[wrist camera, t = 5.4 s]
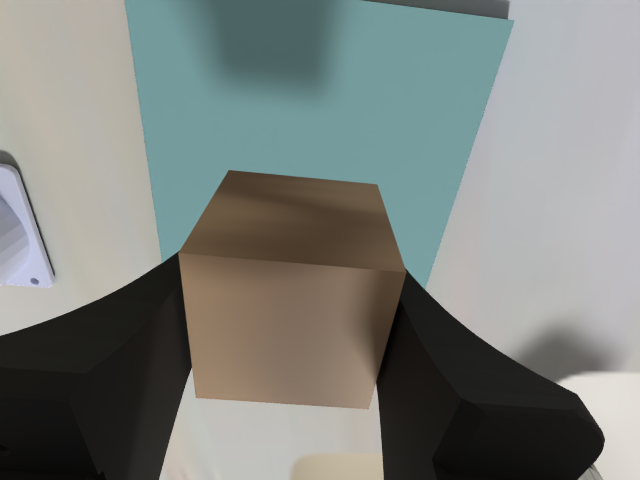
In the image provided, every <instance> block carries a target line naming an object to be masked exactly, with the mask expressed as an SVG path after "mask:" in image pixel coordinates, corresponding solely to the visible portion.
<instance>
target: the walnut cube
mask: <svg viewBox="0 0 640 480" xmlns="http://www.w3.org/2000/svg"><path fill="white" fill-rule="evenodd" d="M178 254H179V263H180V271H181V279H182V287H183V295H184V304H185V312H186V320H187V328H188V337H189V345H190V353H191V361H192V369H193V378H194V386H195V394H196V398H205V399H221V400H236V401H251V402H266V403H281V404H297V405H312V406H327V407H342V408H357V409H369V405H370V402H371V398H372V395H373V391H374V387H375V384H376V380H377V377H378V373H379V369H380V366H381V362H382V359H383V355H384V351H385V348H386V344H387V341H388V337H389V334H390V330H391V326H392V323H393V319H394V316H395V312H396V308H397V305H398V301H399V298H400V294H401V290H402V287H403V283H404V280H405V276H406V273H407V272H406V269H405V266H404V263H403V260H402V257H401V254H400V251H399V248H398V245H397V242H396V239H395V236H394V233H393V230H392V227H391V224H390V221H389V218H388V215H387V212H386V209H385V206H384V203H383V200H382V197H381V194H380V191H379V188H378V185H377V184H369V183H359V182H349V181H338V180H328V179H318V178H307V177H297V176H287V175H276V174H266V173H255V172H245V171H235V170H228V172H227V174H226V175H225V177H224V179H223V180H222V182H221V183H220V185H219V187H218V188H217V190H216V192H215V193H214V195H213V197H212V198H211V200H210V202H209V203H208V205H207V207H206V208H205V210H204V212H203V213H202V215H201V216H200V218H199V220H198V221H197V223H196V225H195V226H194V228H193V230H192V231H191V233H190V235H189V236H188V238H187V240H186V241H185V243H184V245H183V246H182V248H181V250H180V251H179V253H178Z"/></svg>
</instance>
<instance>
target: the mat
mask: <svg viewBox="0 0 640 480" xmlns="http://www.w3.org/2000/svg"><path fill="white" fill-rule="evenodd" d="M125 6H126V13H127V20H128V27H129V34H130V41H131V48H132V55H133V62H134V69H135V76H136V83H137V90H138V97H139V104H140V111H141V118H142V125H143V132H144V139H145V146H146V153H147V160H148V167H149V174H150V181H151V188H152V195H153V202H154V209H155V216H156V223H157V230H158V237H159V244H160V251H161V258H162V263H163V262H164V261H166V260H167V259H168V258H170V257H171V256H173V255H174V254H175V253H177V252H178V251H180V250H181V248H182V246H183V245H184V243H185V241H186V240H187V238H188V236H189V235H190V233H191V231H192V230H193V228H194V226H195V225H196V223H197V221H198V220H199V218H200V216H201V215H202V213H203V212H204V210H205V208H206V207H207V205H208V203H209V202H210V200H211V198H212V197H213V195H214V193H215V192H216V190H217V188H218V187H219V185H220V183H221V182H222V180H223V179H224V177H225V175H226V174H227V172H228V170H235V171H245V172H255V173H266V174H276V175H287V176H297V177H307V178H318V179H328V180H338V181H349V182H359V183H369V184H377V185H378V188H379V191H380V194H381V197H382V200H383V203H384V206H385V209H386V212H387V215H388V218H389V221H390V224H391V227H392V230H393V233H394V236H395V239H396V242H397V245H398V248H399V251H400V254H401V257H402V260H403V263H404V266H405V268H406V269H407V270H408V271H409V273H410V274H411V275H412V276H413V277H414V278H415V279H416V281H417V282H418V283H419V284H420V285H421V286H422V287H423V288H424V289H425V287H426V284H427V281H428V278H429V275H430V272H431V269H432V266H433V263H434V260H435V257H436V254H437V251H438V248H439V245H440V242H441V239H442V236H443V233H444V230H445V227H446V224H447V221H448V218H449V215H450V212H451V209H452V206H453V203H454V200H455V197H456V194H457V191H458V188H459V185H460V182H461V179H462V176H463V173H464V170H465V167H466V164H467V161H468V158H469V155H470V152H471V149H472V146H473V143H474V140H475V137H476V134H477V131H478V128H479V125H480V122H481V119H482V116H483V113H484V110H485V107H486V104H487V101H488V98H489V95H490V92H491V89H492V86H493V83H494V80H495V77H496V74H497V71H498V68H499V65H500V62H501V59H502V56H503V53H504V50H505V47H506V44H507V41H508V38H509V35H510V32H511V29H512V26H513V23H514V20H507V19H500V18H492V17H484V16H477V15H469V14H462V13H454V12H446V11H439V10H431V9H424V8H416V7H408V6H401V5H393V4H386V3H378V2H370V1H363V0H125Z"/></svg>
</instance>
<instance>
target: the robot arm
mask: <svg viewBox="0 0 640 480" xmlns="http://www.w3.org/2000/svg"><path fill="white" fill-rule="evenodd" d="M178 253H179V251H178V252H177V253H175V254H174V255H173V256H171V257H170V258H168V259H167V260H166V261H164V262H163V263H161V264H160V265H158V266H157V267H155V268H154V269H152V270H150V271H149V272H147V273H146V274H144V275H143V276H141V277H140V278H138V279H136V280H135V281H133V282H131V283H129V284H128V285H126V286H124V287H122V288H120V289H118V290H117V291H115V292H113V293H111V294H109V295H107V296H105V297H103V298H101V299H99V300H96V301H94V302H92V303H89V304H87V305H85V306H83V307H80V308H78V309H76V310H73V311H71V312H69V313H66V314H64V315H61V316H59V317H56V318H53V319H51V320H48V321H45V322H42V323H39V324H36V325H34V326H31V327H28V328H25V329H22V330H19V331H15V332H12V333H9V334H5V335H2V336H0V480H159V477H160V473H161V470H162V466H163V462H164V458H165V455H166V451H167V447H168V443H169V440H170V436H171V433H172V429H173V426H174V422H175V419H176V415H177V412H178V408H179V405H180V402H181V398H182V395H183V392H184V388H185V385H186V382H187V379H188V376H189V373H190V371H191V368H192V361H191V353H190V345H189V337H188V328H187V320H186V312H185V304H184V295H183V287H182V279H181V271H180V263H179V254H178ZM405 269H406V268H405ZM406 272H407V273H406V276H405V280H404V283H403V287H402V290H401V294H400V298H399V301H398V305H397V308H396V312H395V316H394V319H393V323H392V326H391V330H390V334H389V337H388V341H387V344H386V348H385V351H384V355H383V359H382V362H381V366H380V369H379V373H378V377H377V380H376V385H377V392H378V401H379V413H380V425H381V439H382V453H383V470H384V480H578V479H579V478H580V477H581V476H582V475H583V474H584V473H585V471H586V470H587V469H588V468H589V467H590V466H591V465H592V464H593V463H594V462H595V461H596V460H597V458H598V457H599V455H600V454H601V452H602V450H603V447H604V442H605V438H604V435H603V432H602V431H601V429H600V428H599V426H598V424H597V423H596V421H595V420H594V418H593V417H592V415H591V414H590V412H589V411H588V410H587V408H586V406H585V405H584V404H583V402H582V401H581V399H580V398H579V396H578V395H577V394H575V393H573V392H571V391H569V390H567V389H565V388H563V387H562V386H560V385H558V384H556V383H554V382H552V381H550V380H548V379H546V378H544V377H542V376H540V375H538V374H536V373H535V372H533V371H531V370H529V369H528V368H526V367H524V366H523V365H521V364H519V363H517V362H516V361H514V360H512V359H511V358H509V357H508V356H506V355H504V354H503V353H501V352H500V351H498V350H497V349H495V348H494V347H492V346H491V345H489V344H488V343H487V342H485V341H484V340H482V339H481V338H479V337H478V336H477V335H475V334H474V333H473V332H471V331H470V330H469V329H467V328H466V327H465V326H464V325H463V324H461V323H460V322H459V321H458V320H457V319H455V318H454V317H453V316H452V315H451V314H449V313H448V312H447V311H446V310H445V309H444V308H443V307H442V306H441V305H440V304H439V303H438V302H437V301H436V300H435V299H434V298H432V297H431V296H430V294H429V293H428V292H427V291H426V290H425V289H424V288H423V287H422V286H421V285H420V284H419V283H418V282H417V281H416V279H415V278H414V277H413V276H412V275H411V274H410V273H409V271H408V270H407V269H406ZM54 283H55V278H54V275H53V272H52V269H51V266H50V263H49V260H48V257H47V255H46V252H45V249H44V246H43V243H42V240H41V237H40V234H39V231H38V228H37V225H36V222H35V219H34V216H33V213H32V211H31V208H30V205H29V202H28V199H27V196H26V193H25V190H24V187H23V184H22V181H21V178H20V175H19V173H18V171H17V170H16V169H15V168H14V167H12V166H11V165H8V164H1V163H0V286H1V285H3V284H8V285H19V286H31V287H42V288H49V287H51V286H52V285H53V284H54Z"/></svg>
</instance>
